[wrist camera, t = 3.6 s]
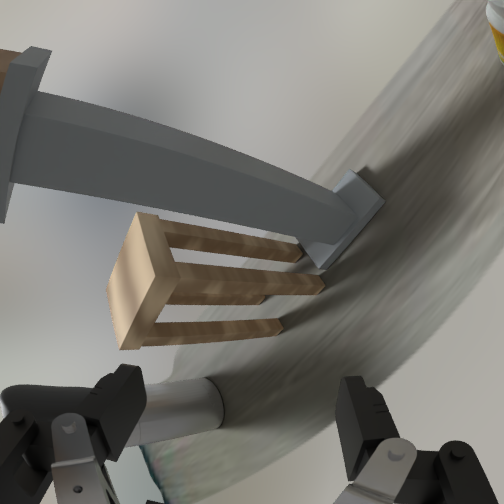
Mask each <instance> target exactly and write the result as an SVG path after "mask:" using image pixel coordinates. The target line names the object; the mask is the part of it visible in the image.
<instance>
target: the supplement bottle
mask: <svg viewBox="0 0 504 504" xmlns="http://www.w3.org/2000/svg"><path fill="white" fill-rule="evenodd" d="M486 14H487V18H488V21H489V24H490V27H491V30H492V33H493V36H494V40H495V43H496V47H497V50H498V54H499V58H500V60H501V62H502V64H503V65H504V0H488V4H487V6H486Z"/></svg>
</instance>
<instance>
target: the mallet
mask: <svg viewBox="0 0 504 504" xmlns="http://www.w3.org/2000/svg"><path fill="white" fill-rule="evenodd" d="M20 54H21V53H20V52H15V51H9V50H3V49H0V94H1V90H2V87H3V83H4V80H5V77H6V73H7V70H8V67H9V64H10V62H11V61H12V60H14V59H15V58H16V57H17V56H19V55H20Z"/></svg>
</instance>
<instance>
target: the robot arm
mask: <svg viewBox="0 0 504 504" xmlns="http://www.w3.org/2000/svg"><path fill="white" fill-rule="evenodd" d="M0 406H1V411H2V416H3V420H2V422H1V423H0V504H40V502H41V500H42V498H43V497H44V495H45V493H46V491H47V489H48V488H49V486H50V484H51V482H52V481H54V487H55V492H56V497H57V502H58V504H120V503H119V501H118V498H117V496H116V493H115V490H114V488H113V485H112V482H111V480H110V477H109V474H108V471H107V468H106V466H105V464H104V462H105V460H106V459H107V460H111V461H114V462H117V460H118V458H119V456H120V454H121V452H122V451H123V449H124V448H125V447H132V446H138V445H144V444H149V443H155V442H160V441H165V440H170V439H175V438H180V437H184V436H188V435H193V434H197V433H201V432H205V431H209V430H213V429H216V428H218V427H219V426H220V425H221V423H222V421H223V416H224V409H223V403H222V399H221V396H220V393H219V392H218V390H217V388H216V387H215V385H214V384H213V383H212V382H211V381H210V380H208V379H206V378H198V379H191V380H183V381H175V382H166V383H157V384H148V385H144V381H143V375H142V371H141V368H140V367H139V366H134V365H127V364H121V365H120V366H119V367H118V369H117V370H116V371H115V372H114V374H113V373H109V374H108V375H106V376H104V377H103V378H101V379H100V380H99V381H98V383H97V384H96V385H95V388H86V387H56V386H42V385H15V386H10V387H8V388H6V389H4V390H3V391H2V393H1V395H0ZM335 415H336V423H337V428H338V432H339V437H340V442H341V447H342V452H343V457H344V462H345V467H346V473H347V478H348V481H354V482H353V483H352V484H349V485H348V486H347V487H346V488H345V489H344V491H343V492H342V493H341V494H340V496H339V497H338V498H337V500H336V501H335V502H334V503H333V504H393V503H395V504H498V501H497V499H496V497H495V494H494V492H493V490H492V488H491V486H490V483H489V481H488V479H487V477H486V475H485V473H484V470H483V468H482V466H481V464H480V462H479V460H478V458H477V456H476V454H475V452H474V450H473V449H472V447H471V446H470V445H469V444H467V443H465V442H462V441H449V442H447V443H445V444H444V445H443V446H442V447H441V448H440V450H439V451H421V450H416V448H415V446H414V445H413V444H412V443H411V442H410V441H408V440H405V439H402V438H400V436H399V433H398V431H397V428H396V426H395V424H394V421H393V419H392V416H391V414H390V412H389V410H388V407H387V405H386V403H385V400H384V398H383V396H382V394H381V393H380V392H379V391H377V390H376V389H375V388H374V387H370V388H366V386H365V383H364V380H363V378H362V376H348V377H342V379H341V383H340V389H339V394H338V399H337V404H336V412H335ZM146 504H164V503H158V502H155V501H150V500H147V502H146Z"/></svg>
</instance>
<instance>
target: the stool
mask: <svg viewBox="0 0 504 504" xmlns="http://www.w3.org/2000/svg"><path fill="white" fill-rule="evenodd" d="M169 247H172V248H180V249H188V250H195V251H203V252H210V253H218V254H226V255H234V256H242V257H250V258H258V259H266V260H274V261H282V262H290V263H296V261H297V260H298V259H299V258H300V257H301V256H302V254H303V253H302V252H301V250H300V249H299V247H298V246H297V245H296V244H292V243H287V242H281V241H276V240H271V239H266V238H260V237H255V236H249V235H245V234H239V233H234V232H228V231H223V230H218V229H212V228H207V227H201V226H196V225H190V224H184V223H179V222H173V221H168V220H162V219H159V217H158V215H153V214H147V213H142V212H136V215H135V217H134V219H133V222H132V224H131V226H130V228H129V231H128V233H127V236H126V238H125V241H124V243H123V246H122V248H121V251H120V253H119V256H118V258H117V261H116V264H115V266H114V269H113V272H112V274H111V277H110V280H109V283H108V285H107V288H106V292H107V297H108V302H109V307H110V312H111V316H112V321H113V326H114V330H115V335H116V338H117V343H118V347H119V350H135V349H136V350H138V349H140V347H141V346H164V345H183V344H198V343H211V342H223V341H234V340H244V339H253V338H262V337H271V336H277V335H278V334H279V333H280V332H281V331H282V330H283V329H284V328H283V326H282V325H281V323H280V321H279V320H278V318H274V319H257V320H237V321H212V322H174V323H173V322H170V323H169V322H167V323H155V321H156V319H157V318H158V316H159V314H160V312H161V311H162V309H163V307H164V306H165V304H168V305H169V304H170V305H259V304H260V303H261V302H262V301H263V300H264V299H265V295H317V294H318V293H319V292H320V291H321V290H322V289H323V288H324V287H325V286H326V285H325V284H324V283H323V281H322V280H321V278H320V277H319V275H312V274H300V273H288V272H277V271H266V270H255V269H244V268H234V267H223V266H213V265H203V264H193V263H183V262H175V261H174V258H173V256H172V253H171V250H170V248H169Z"/></svg>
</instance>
